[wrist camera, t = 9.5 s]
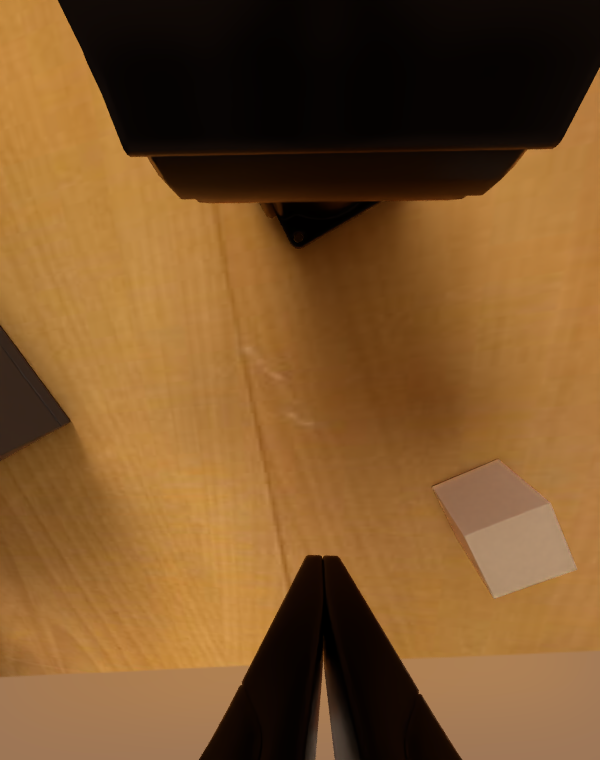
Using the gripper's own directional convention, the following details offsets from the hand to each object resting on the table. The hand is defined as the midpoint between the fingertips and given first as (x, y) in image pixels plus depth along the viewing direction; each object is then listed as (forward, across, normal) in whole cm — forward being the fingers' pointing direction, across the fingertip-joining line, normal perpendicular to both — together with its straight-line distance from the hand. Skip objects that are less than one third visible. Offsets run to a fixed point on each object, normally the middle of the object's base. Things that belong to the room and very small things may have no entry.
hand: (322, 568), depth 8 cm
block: (+11, -10, +6) cm, 16 cm away
